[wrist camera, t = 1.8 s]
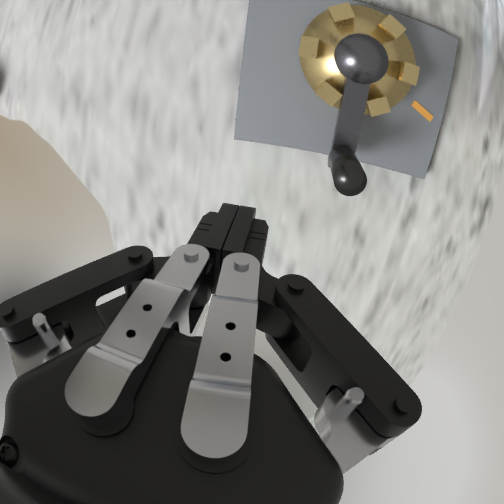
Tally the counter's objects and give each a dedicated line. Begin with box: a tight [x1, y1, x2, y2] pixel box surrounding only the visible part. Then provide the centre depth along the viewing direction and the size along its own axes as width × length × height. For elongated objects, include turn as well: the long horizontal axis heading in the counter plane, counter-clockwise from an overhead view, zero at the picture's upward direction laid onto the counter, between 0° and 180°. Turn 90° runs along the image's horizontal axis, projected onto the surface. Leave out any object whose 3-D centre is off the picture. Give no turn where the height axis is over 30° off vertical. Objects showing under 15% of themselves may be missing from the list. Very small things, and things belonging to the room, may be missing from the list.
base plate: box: [234, 0, 458, 179], centre depth 24 cm, size 16×20×2 cm
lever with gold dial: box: [298, 2, 420, 196], centre depth 20 cm, size 15×10×8 cm, turn 174°
